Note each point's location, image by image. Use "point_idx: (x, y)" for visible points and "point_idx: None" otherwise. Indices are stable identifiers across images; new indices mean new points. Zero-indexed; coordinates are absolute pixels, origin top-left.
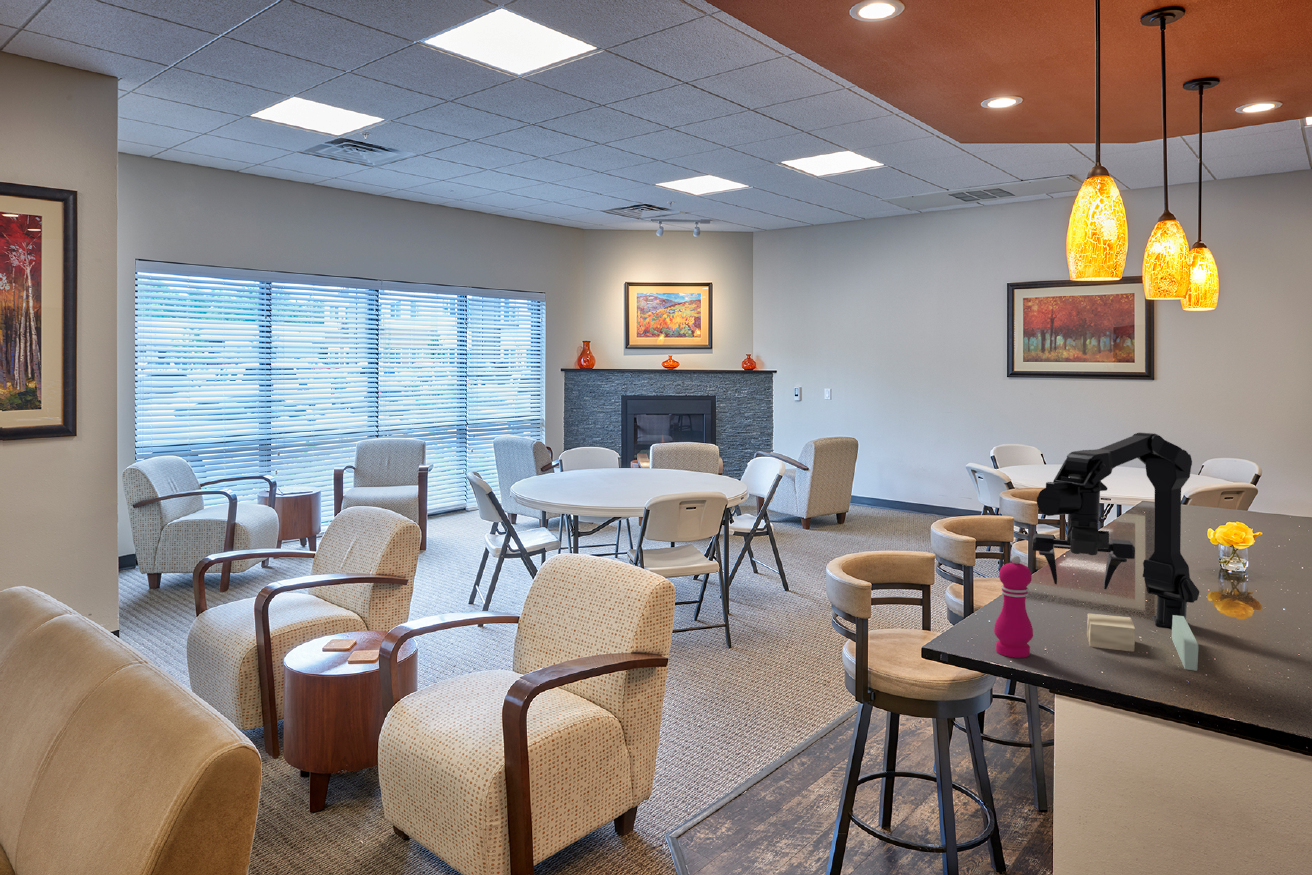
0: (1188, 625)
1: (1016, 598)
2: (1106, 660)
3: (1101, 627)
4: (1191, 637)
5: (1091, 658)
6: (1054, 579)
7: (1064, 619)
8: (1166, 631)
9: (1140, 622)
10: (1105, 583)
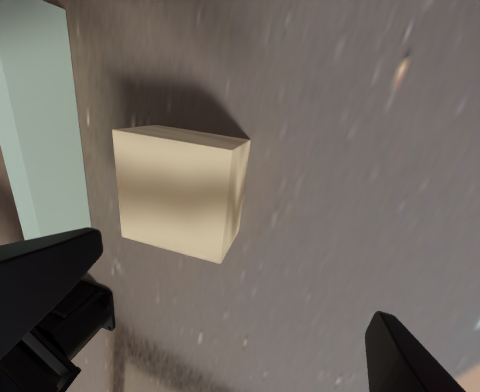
0: (10, 183)
1: None
2: (231, 9)
3: (203, 143)
4: None
5: (270, 13)
6: (416, 347)
7: (263, 325)
8: (99, 266)
9: (133, 309)
10: (59, 239)
